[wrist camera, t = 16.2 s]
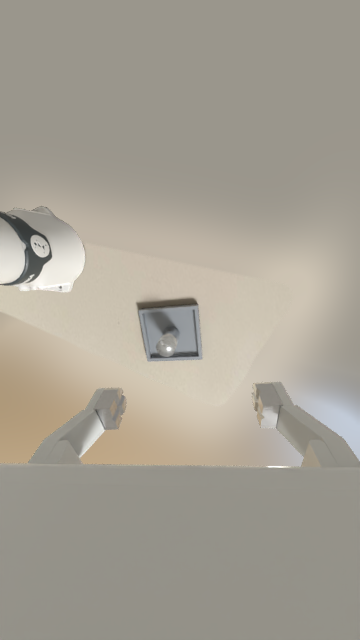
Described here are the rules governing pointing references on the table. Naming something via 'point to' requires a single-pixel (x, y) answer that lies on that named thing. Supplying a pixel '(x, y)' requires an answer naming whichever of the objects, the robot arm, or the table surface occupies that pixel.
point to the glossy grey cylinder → (168, 341)
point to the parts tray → (178, 317)
